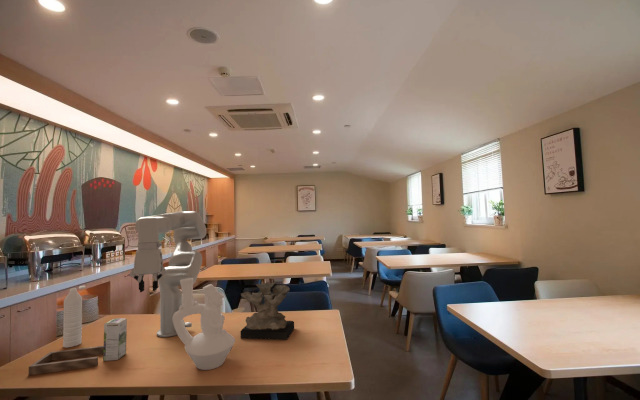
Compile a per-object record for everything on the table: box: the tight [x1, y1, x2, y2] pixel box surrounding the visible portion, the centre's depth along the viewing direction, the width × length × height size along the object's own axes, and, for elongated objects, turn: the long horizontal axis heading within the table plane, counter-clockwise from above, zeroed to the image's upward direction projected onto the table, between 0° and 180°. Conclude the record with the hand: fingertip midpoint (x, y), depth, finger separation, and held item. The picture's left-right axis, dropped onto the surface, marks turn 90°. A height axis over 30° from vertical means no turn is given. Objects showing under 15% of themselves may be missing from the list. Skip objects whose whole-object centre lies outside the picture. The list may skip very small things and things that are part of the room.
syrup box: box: [102, 317, 128, 362], centre depth 121 cm, size 6×6×14 cm
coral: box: [239, 281, 295, 341], centre depth 144 cm, size 25×20×22 cm
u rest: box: [28, 345, 104, 376], centre depth 117 cm, size 21×12×3 cm, turn 104°
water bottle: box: [62, 285, 87, 349], centre depth 136 cm, size 9×6×25 cm
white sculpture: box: [172, 278, 236, 371], centre depth 113 cm, size 18×22×32 cm
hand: (148, 290), depth 125 cm, fingers open, 4 cm apart
